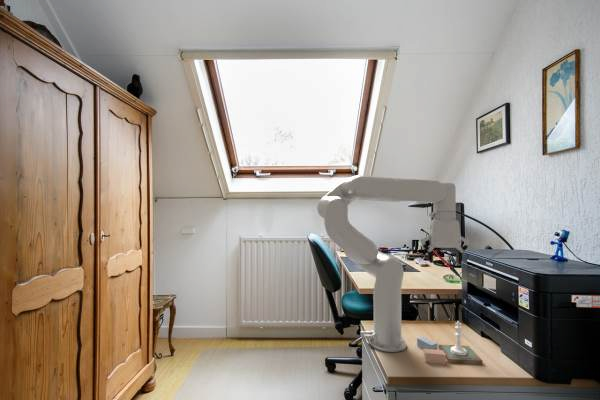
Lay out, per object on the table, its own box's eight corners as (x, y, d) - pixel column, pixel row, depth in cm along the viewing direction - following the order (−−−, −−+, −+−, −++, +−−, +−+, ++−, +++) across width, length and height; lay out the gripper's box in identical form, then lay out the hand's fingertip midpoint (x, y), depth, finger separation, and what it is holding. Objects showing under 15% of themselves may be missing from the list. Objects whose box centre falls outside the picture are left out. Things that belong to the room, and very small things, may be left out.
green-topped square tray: (448, 362, 98) (448, 358, 98) (438, 348, 108) (438, 344, 108) (482, 364, 97) (482, 360, 97) (468, 349, 107) (468, 345, 107)
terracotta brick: (425, 362, 98) (425, 353, 99) (423, 358, 101) (423, 348, 101) (445, 364, 97) (445, 354, 97) (443, 359, 100) (443, 350, 100)
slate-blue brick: (437, 352, 105) (437, 343, 105) (431, 354, 104) (431, 345, 104) (423, 345, 111) (423, 336, 111) (417, 346, 109) (417, 338, 109)
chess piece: (469, 356, 100) (469, 324, 100) (452, 354, 100) (452, 323, 101) (464, 349, 104) (464, 319, 104) (448, 347, 105) (448, 318, 105)
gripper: (422, 216, 113) (422, 263, 113) (473, 216, 110) (473, 265, 110) (417, 215, 121) (418, 260, 120) (465, 216, 118) (466, 261, 118)
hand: (444, 262), depth 115 cm, fingers open, 9 cm apart
